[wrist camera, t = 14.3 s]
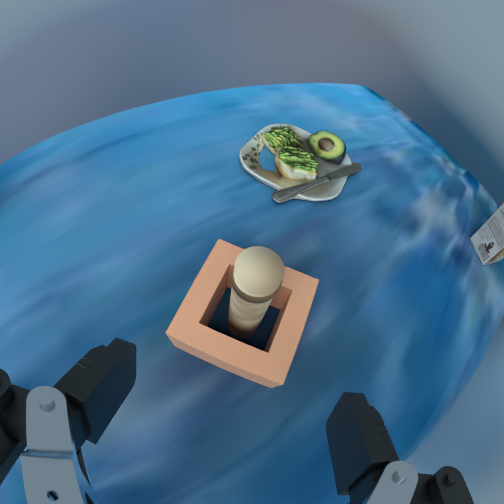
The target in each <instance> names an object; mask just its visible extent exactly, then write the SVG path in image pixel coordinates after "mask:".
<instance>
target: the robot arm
mask: <svg viewBox="0 0 504 504" xmlns="http://www.w3.org/2000/svg"><path fill="white" fill-rule="evenodd" d="M135 379H136V345H135V344H133V343H130V342H128V341H125V340H122V339H120V338H115V339H114V340H113V341H112V342H111V343H110V344H109V345H108V346H107V347H106V346H104V345H100V346H98V347H96V348H93V349H91V350H90V351H89V352H88V353H87V354H86V355H85V356H84V357H83V359H82V358H81V359H80V360H79V361H78V362H77V365H76V364H75V365H74V366H73V367H72V368H71V369H70V370H69V371H68V372H67V373H66V374H65V375H64V376H63V377H62V378H61V379H60V380H59V381H58V382H57V383H56V384H55V385H54V386H53V387H50V386H40V387H36V388H34V389H33V390H31V391H30V390H27V389H24V388H21V387H18V386H16V385H13V384H11V381H10V378H9V376H8V374H7V373H6V372H5V371H4V370H2V369H0V485H1V484H2V482H3V480H4V479H5V477H6V476H7V474H8V473H9V471H10V469H11V468H12V466H13V465H14V463H15V462H16V460H17V459H18V457H19V456H20V455H21V463H22V473H23V480H24V487H25V493H26V498H27V503H28V504H100V503H99V501H98V498H97V496H96V494H95V492H94V489H93V486H92V483H91V479H90V476H89V473H88V469H87V465H86V461H85V457H84V453H83V449H82V445H83V444H84V442H85V441H86V440H88V441H90V442H92V443H94V444H96V443H97V442H98V440H99V439H100V437H101V435H102V434H103V432H104V431H105V429H106V428H107V426H108V424H109V423H110V421H111V420H112V418H113V417H114V415H115V414H116V412H117V410H118V409H119V407H120V406H121V404H122V403H123V401H124V400H125V398H126V397H127V395H128V394H129V392H130V391H131V389H132V387H133V385H134V382H135ZM387 432H388V431H387V429H386V426H384V422H383V419H382V417H381V415H380V414H379V412H378V411H377V410H376V409H375V408H374V407H373V406H369V404H368V402H367V399H366V397H365V395H364V394H363V393H352V392H345V393H343V394H342V396H341V398H340V399H339V401H338V403H337V405H336V406H335V408H334V410H333V411H332V413H331V415H330V416H329V418H328V421H327V425H326V433H327V438H328V443H329V449H330V454H331V459H332V465H333V470H334V476H335V481H336V487H337V493H338V496H339V495H349V496H350V500H349V501H348V502H347V503H346V504H474V503H473V500H472V497H471V495H470V492H469V490H468V488H467V485H466V483H465V481H464V479H463V476H462V474H461V473H460V472H459V471H458V470H457V469H456V468H454V467H451V466H445V467H442V468H441V469H439V470H438V471H437V472H436V473H435V474H434V475H430V474H418V473H417V471H416V469H415V468H414V467H413V466H412V465H410V464H409V463H407V462H404V461H400V460H399V458H398V456H397V453H396V451H395V448H394V446H393V443H392V441H391V438H390V436H389V434H388V433H387ZM26 446H27V451H23V450H24V449H25V447H26ZM21 453H22V454H21Z"/></svg>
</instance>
